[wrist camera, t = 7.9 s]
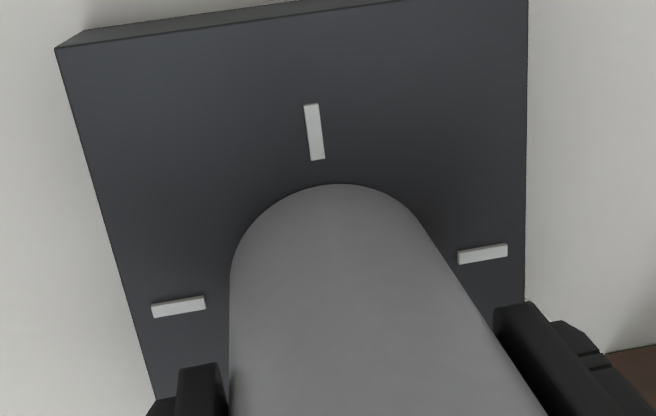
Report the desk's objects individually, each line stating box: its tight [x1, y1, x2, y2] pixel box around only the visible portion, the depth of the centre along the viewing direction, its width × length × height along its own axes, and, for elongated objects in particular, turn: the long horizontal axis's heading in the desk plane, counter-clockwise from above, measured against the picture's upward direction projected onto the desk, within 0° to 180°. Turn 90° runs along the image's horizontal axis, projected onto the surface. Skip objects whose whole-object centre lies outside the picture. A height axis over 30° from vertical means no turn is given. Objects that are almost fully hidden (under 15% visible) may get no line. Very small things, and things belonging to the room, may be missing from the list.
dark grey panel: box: [54, 0, 528, 405], centre depth 18 cm, size 14×11×3 cm
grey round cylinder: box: [228, 184, 548, 416], centre depth 13 cm, size 6×6×9 cm
